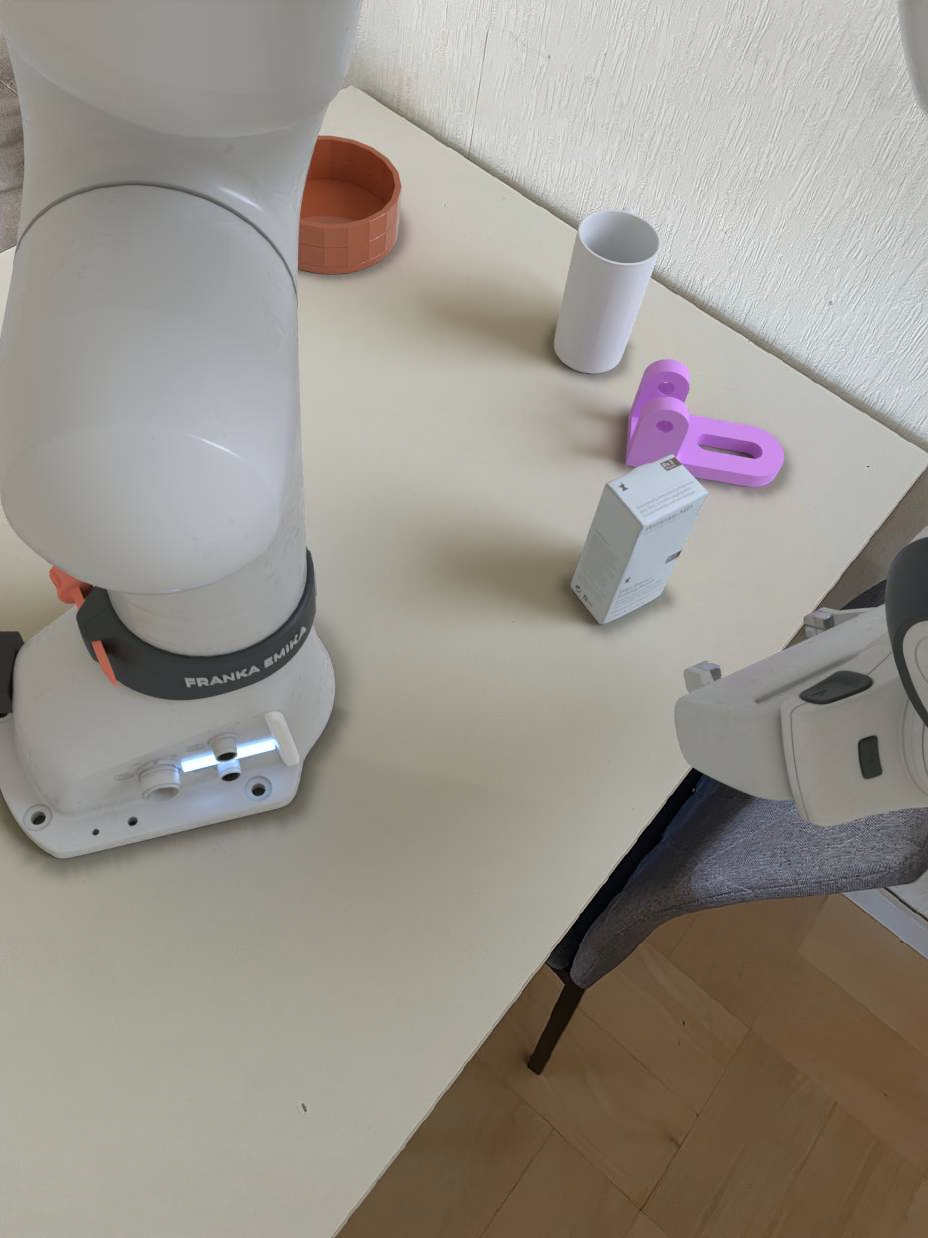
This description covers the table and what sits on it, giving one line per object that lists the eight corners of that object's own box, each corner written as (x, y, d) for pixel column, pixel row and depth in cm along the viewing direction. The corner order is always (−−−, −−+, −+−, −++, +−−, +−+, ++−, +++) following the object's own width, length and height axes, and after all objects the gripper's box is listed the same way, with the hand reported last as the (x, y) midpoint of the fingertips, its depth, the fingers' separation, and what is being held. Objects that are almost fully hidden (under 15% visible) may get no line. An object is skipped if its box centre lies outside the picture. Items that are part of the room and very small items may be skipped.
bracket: (625, 464, 84) (647, 405, 78) (628, 415, 87) (649, 355, 81) (779, 492, 85) (812, 435, 79) (777, 442, 88) (809, 384, 82)
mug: (616, 385, 89) (652, 274, 79) (542, 364, 89) (569, 250, 79) (637, 312, 94) (674, 198, 84) (568, 292, 95) (596, 177, 85)
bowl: (289, 288, 91) (287, 241, 87) (234, 199, 97) (230, 151, 92) (421, 254, 95) (425, 208, 91) (361, 170, 101) (363, 123, 97)
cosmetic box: (601, 628, 76) (643, 531, 65) (565, 584, 77) (601, 482, 67) (664, 594, 78) (714, 495, 68) (628, 552, 80) (672, 449, 69)
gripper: (1075, 578, 54) (872, 547, 66) (773, 725, 47) (610, 660, 59) (1083, 686, 56) (884, 637, 68) (794, 843, 49) (632, 756, 61)
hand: (754, 649), depth 63 cm, fingers open, 8 cm apart
